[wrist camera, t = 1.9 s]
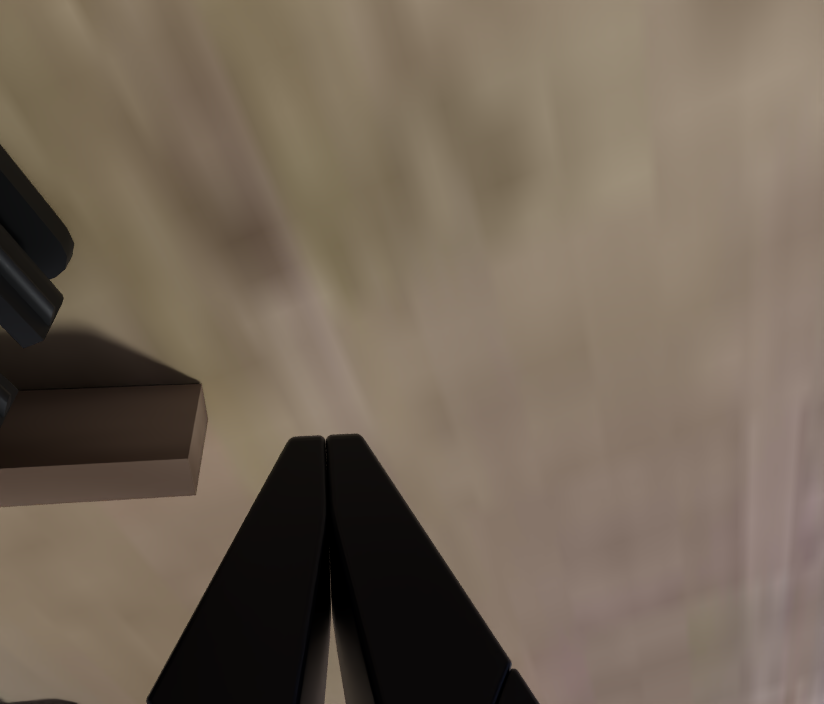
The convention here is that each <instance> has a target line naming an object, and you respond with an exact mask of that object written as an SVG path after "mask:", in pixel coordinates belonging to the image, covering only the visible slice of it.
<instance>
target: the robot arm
mask: <svg viewBox="0 0 824 704" xmlns="http://www.w3.org/2000/svg"><path fill="white" fill-rule="evenodd" d="M326 464H327V466H326ZM329 550H330V552H329ZM330 577H331V587H330ZM331 601H332V616H333V624H334V632H335V639H336V646H337V652H338V658H339V664H340V670H341V676H342V683H343V689H344V695H345V701H346V704H539V702H538V701H537V699H536V698H535V696H534V695H533V693H532V692H531V690H530V689H529V687H528V686H527V684H526V683H525V681H524V679H523V678H522V676H521V675H520V673H519V672H518V671H517V670H516V669H511V665H512V663H511V660H510V659H509V657H508V656H507V654H506V653H505V651H504V650H503V648H502V647H501V645H500V644H499V642H498V641H497V639H496V638H495V636H494V635H493V633H492V632H491V630H490V629H489V627H488V626H487V624H486V623H485V621H484V620H483V618H482V617H481V615H480V614H479V612H478V611H477V609H476V608H475V606H474V605H473V603H472V601H471V600H470V598H469V597H468V595H467V594H466V592H465V591H464V589H463V588H462V586H461V585H460V583H459V582H458V580H457V579H456V577H455V576H454V574H453V573H452V571H451V570H450V568H449V567H448V565H447V564H446V562H445V561H444V559H443V558H442V556H441V555H440V553H439V552H438V550H437V549H436V547H435V546H434V544H433V542H432V541H431V539H430V538H429V536H428V535H427V533H426V532H425V530H424V529H423V527H422V526H421V524H420V523H419V521H418V520H417V518H416V517H415V515H414V514H413V512H412V511H411V509H410V508H409V506H408V505H407V503H406V502H405V500H404V499H403V497H402V496H401V494H400V493H399V491H398V490H397V488H396V487H395V485H394V484H393V482H392V480H391V479H390V477H389V476H388V474H387V473H386V471H385V470H384V468H383V467H382V465H381V464H380V462H379V461H378V459H377V458H376V456H375V455H374V453H373V452H372V450H371V449H370V447H369V446H368V444H367V443H366V441H365V440H364V438H363V437H362V436H361V435H359V434H337V435H330V436H328V437H327V439H326V442H325V439H324V437H322V436H319V435H317V436H298V437H292V438H291V439H289V441H288V442H287V443H286V445H285V447H284V449H283V451H282V453H281V454H280V456H279V458H278V460H277V462H276V463H275V465H274V467H273V469H272V471H271V473H270V474H269V476H268V478H267V480H266V482H265V484H264V485H263V487H262V489H261V491H260V493H259V494H258V496H257V498H256V500H255V502H254V504H253V505H252V507H251V509H250V511H249V513H248V515H247V516H246V518H245V520H244V522H243V524H242V525H241V527H240V529H239V531H238V533H237V535H236V536H235V538H234V540H233V542H232V544H231V546H230V547H229V549H228V551H227V553H226V555H225V557H224V558H223V560H222V562H221V564H220V566H219V567H218V569H217V571H216V573H215V575H214V577H213V578H212V580H211V582H210V584H209V586H208V588H207V589H206V591H205V593H204V595H203V597H202V598H201V600H200V602H199V604H198V606H197V608H196V609H195V611H194V613H193V615H192V617H191V619H190V620H189V622H188V624H187V626H186V628H185V629H184V631H183V633H182V635H181V637H180V639H179V640H178V642H177V644H176V646H175V648H174V650H173V651H172V653H171V655H170V657H169V659H168V661H167V662H166V664H165V666H164V668H163V670H162V671H161V673H160V675H159V677H158V679H157V681H156V682H155V684H154V686H153V688H152V690H151V692H150V693H149V695H148V697H147V700H146V702H147V704H324V701H325V689H326V677H327V666H328V654H329V642H330V626H331ZM510 669H511V670H510Z"/></svg>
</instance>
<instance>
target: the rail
mask: <svg viewBox="0 0 824 704" xmlns="http://www.w3.org/2000/svg"><path fill="white" fill-rule="evenodd" d="M207 422H208V417H207V411H206V405H205V400H204V394H203V389H202V384H184V385H158V386H133V387H107V388H81V389H55V390H30V391H18V393H17V395H16V397H15V399H14V401H13V403H12V405H11V408H10V410H9V412H8V414H7V416H6V418H5V420H4V422H3V424H2V426H1V428H0V507H10V506H27V505H43V504H60V503H76V502H93V501H109V500H125V499H142V498H158V497H175V496H191V495H196V491H197V485H198V478H199V472H200V466H201V460H202V453H203V447H204V441H205V435H206V429H207Z"/></svg>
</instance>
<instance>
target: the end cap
mask: <svg viewBox="0 0 824 704" xmlns="http://www.w3.org/2000/svg"><path fill="white" fill-rule="evenodd" d="M73 248H74V242H73V240H72V238H71V235H70V233H69V231H68V229H67V227H66V226H65V225H64V224H63V222H62V221H61V220H60V219H59V217H58V216H57V215H56V214H55V212H54V211H53V210H52V209H51V207H50V206H49V205H48V204H47V202H46V201H45V200H44V199H43V197H42V196H41V195H40V194H39V192H38V191H37V190H36V189H35V187H34V186H33V185H32V184H31V182H30V181H29V180H28V179H27V177H26V176H25V175H24V174H23V172H22V171H21V170H20V169H19V167H18V166H17V165H16V164H15V162H14V161H13V160H12V159H11V157H10V156H9V155H8V154H7V152H6V151H5V150H4V149H3V147H2V146H1V145H0V325H1V326H2V327H3V328H4V329H5V330H6V331H7V332H8V333H9V334H10V335H11V336H12V337H13V338H14V339H15V340H16V341H17V342H18V343H19V344H20V345H21V346H22V347H23V348H26V347H28V346H31V345H34V344H36V343H39V342H41V341H44V339H45V337H46V335H47V333H48V331H49V329H50V327H51V325H52V323H53V321H54V319H55V317H56V315H57V313H58V311H59V309H60V307H61V305H62V302H63V299H64V298H63V295H62V294H61V293H60V291H59V290H58V289H57V288H56V287H55V286H54V285H53V283H52V282H51V281H50V279H52V278H55V277H56V276H58V275H59V274H60V273H61V272H62V271H63V270H65V269H66V267H67V265H68V263H69V261H70V259H71V257H72V254H73ZM18 391H19V390H18V389H17V388H16V387H15V386H14V385H13V384H12V383H11V382H10V381H9V380H8V379H7V378H6V377H4V376H3V375H2V374H1V373H0V428H1V426H2V424H3V422H4V420H5V418H6V416H7V414H8V412H9V410H10V408H11V405H12V403H13V401H14V399H15V397H16V395H17V393H18Z"/></svg>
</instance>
